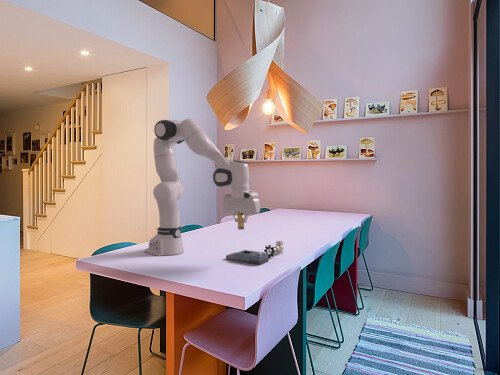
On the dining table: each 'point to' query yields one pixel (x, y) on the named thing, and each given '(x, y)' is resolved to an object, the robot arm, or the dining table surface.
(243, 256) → the gray block with recess
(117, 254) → the dining table surface
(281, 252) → the valve
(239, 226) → the brass pin
